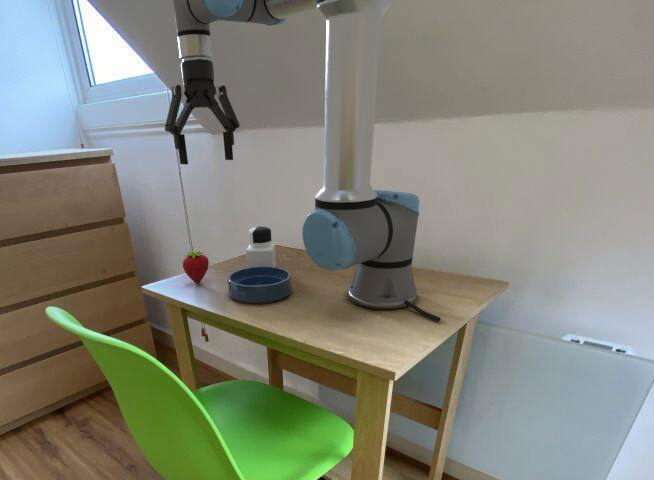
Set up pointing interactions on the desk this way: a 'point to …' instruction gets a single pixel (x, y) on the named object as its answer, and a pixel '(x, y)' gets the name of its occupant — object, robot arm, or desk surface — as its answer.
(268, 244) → the medicine bottle
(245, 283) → the bowl
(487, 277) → the desk surface
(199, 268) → the strawberry
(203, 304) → the desk surface
